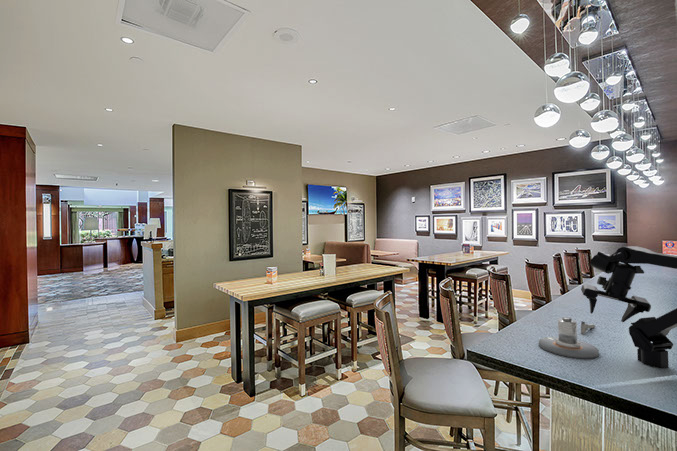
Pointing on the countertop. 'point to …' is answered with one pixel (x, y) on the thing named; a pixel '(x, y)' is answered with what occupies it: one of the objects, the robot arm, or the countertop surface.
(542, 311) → the countertop surface
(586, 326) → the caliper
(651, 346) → the robot arm
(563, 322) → the cover
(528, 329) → the countertop surface
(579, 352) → the turntable
